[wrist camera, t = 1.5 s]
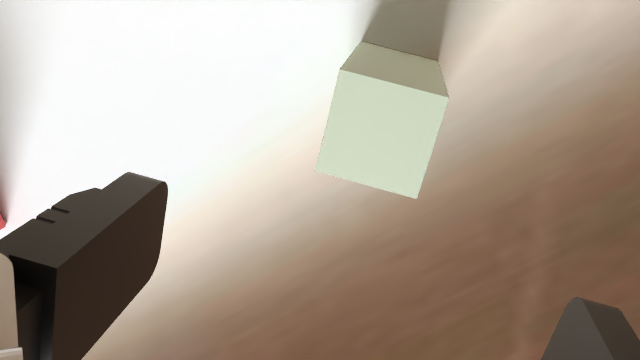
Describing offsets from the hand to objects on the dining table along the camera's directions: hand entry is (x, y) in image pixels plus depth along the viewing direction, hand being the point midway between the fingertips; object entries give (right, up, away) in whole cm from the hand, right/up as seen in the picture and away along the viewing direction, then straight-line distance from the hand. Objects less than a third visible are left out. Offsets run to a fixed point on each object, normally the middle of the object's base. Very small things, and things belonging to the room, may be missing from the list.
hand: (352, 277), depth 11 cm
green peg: (+3, +7, +18) cm, 19 cm away
